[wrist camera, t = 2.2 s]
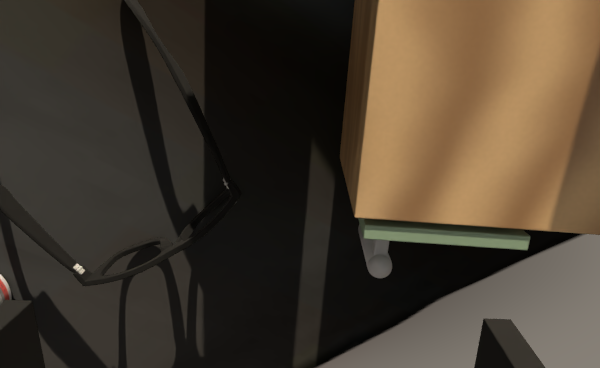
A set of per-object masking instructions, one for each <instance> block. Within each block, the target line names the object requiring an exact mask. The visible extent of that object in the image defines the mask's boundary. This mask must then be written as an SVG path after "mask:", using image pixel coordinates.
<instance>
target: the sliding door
mask: <svg viewBox="0 0 600 368" xmlns="http://www.w3.org/2000/svg"><path fill="white" fill-rule="evenodd" d="M358 220H359V224H360V225H359V227H358V232H359V236H360V240H361V244H362V248H363V252H364V256H365V260H366V264H367V268H368V271H369V273H370V274H371V275H372V276H374V277H376V278H384V277H386V276H388V275H389V274H390V272H391V270H392V262H391V259H390V257H389V254H388V247H389V241H401V242H416V243H430V244H444V245H459V246H473V247H487V248H502V249H516V250H527V249H528V246H529V242H530V236H529V235H528V234H527V233H526V232H525V231H524V230H522V229H510V228H495V227H481V226H466V225H452V224H437V223H423V222H408V221H394V220H380V219H365V218H358Z"/></svg>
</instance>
